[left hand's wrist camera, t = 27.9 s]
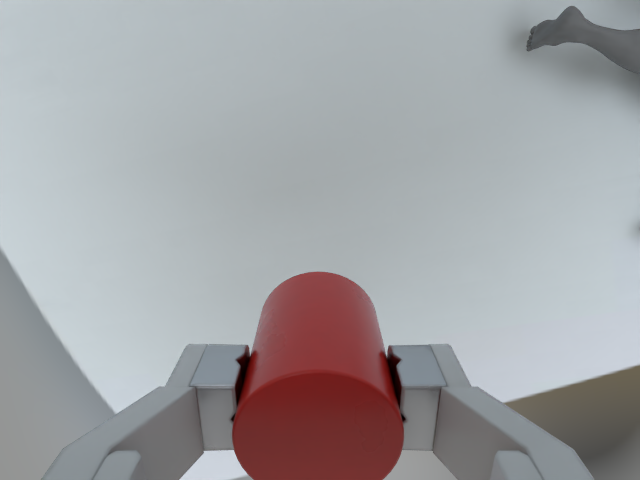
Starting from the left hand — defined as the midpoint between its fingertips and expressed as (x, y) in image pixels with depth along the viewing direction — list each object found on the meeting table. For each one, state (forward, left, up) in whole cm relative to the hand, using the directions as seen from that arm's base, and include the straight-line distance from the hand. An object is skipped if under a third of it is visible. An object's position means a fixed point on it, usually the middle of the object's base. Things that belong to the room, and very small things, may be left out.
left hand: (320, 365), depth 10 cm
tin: (0, 0, -2) cm, 2 cm away
